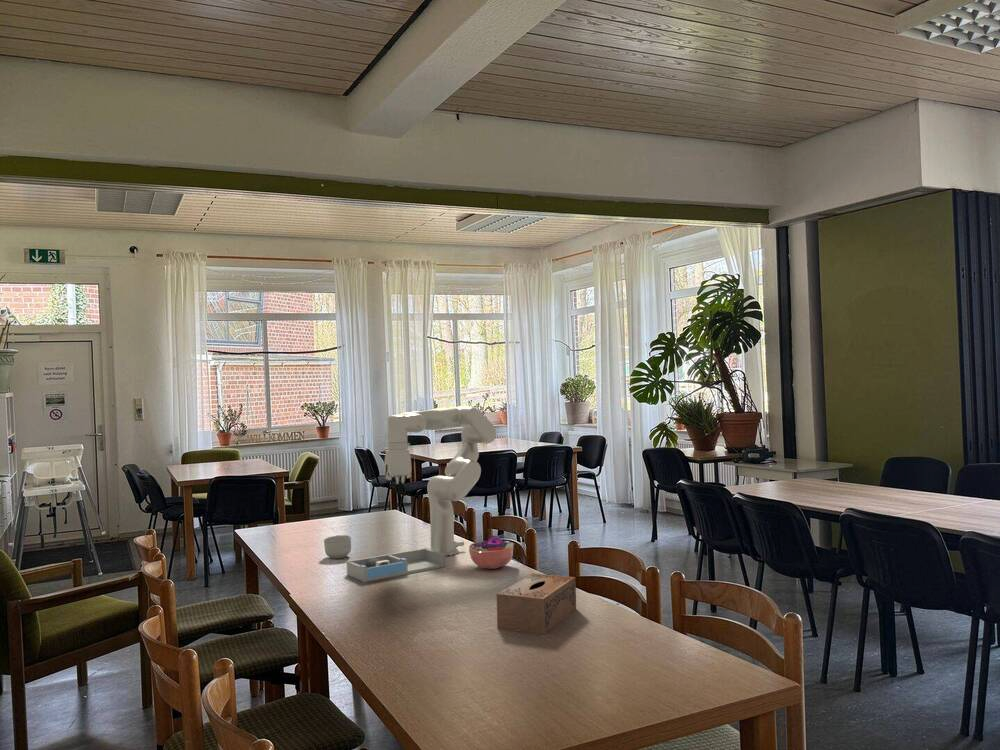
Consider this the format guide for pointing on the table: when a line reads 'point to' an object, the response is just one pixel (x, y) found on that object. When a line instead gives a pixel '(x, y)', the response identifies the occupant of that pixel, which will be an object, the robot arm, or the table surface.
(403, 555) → the divided grey tray
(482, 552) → the cell model
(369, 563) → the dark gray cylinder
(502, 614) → the tissue box cover
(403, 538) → the table surface
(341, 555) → the teacup
